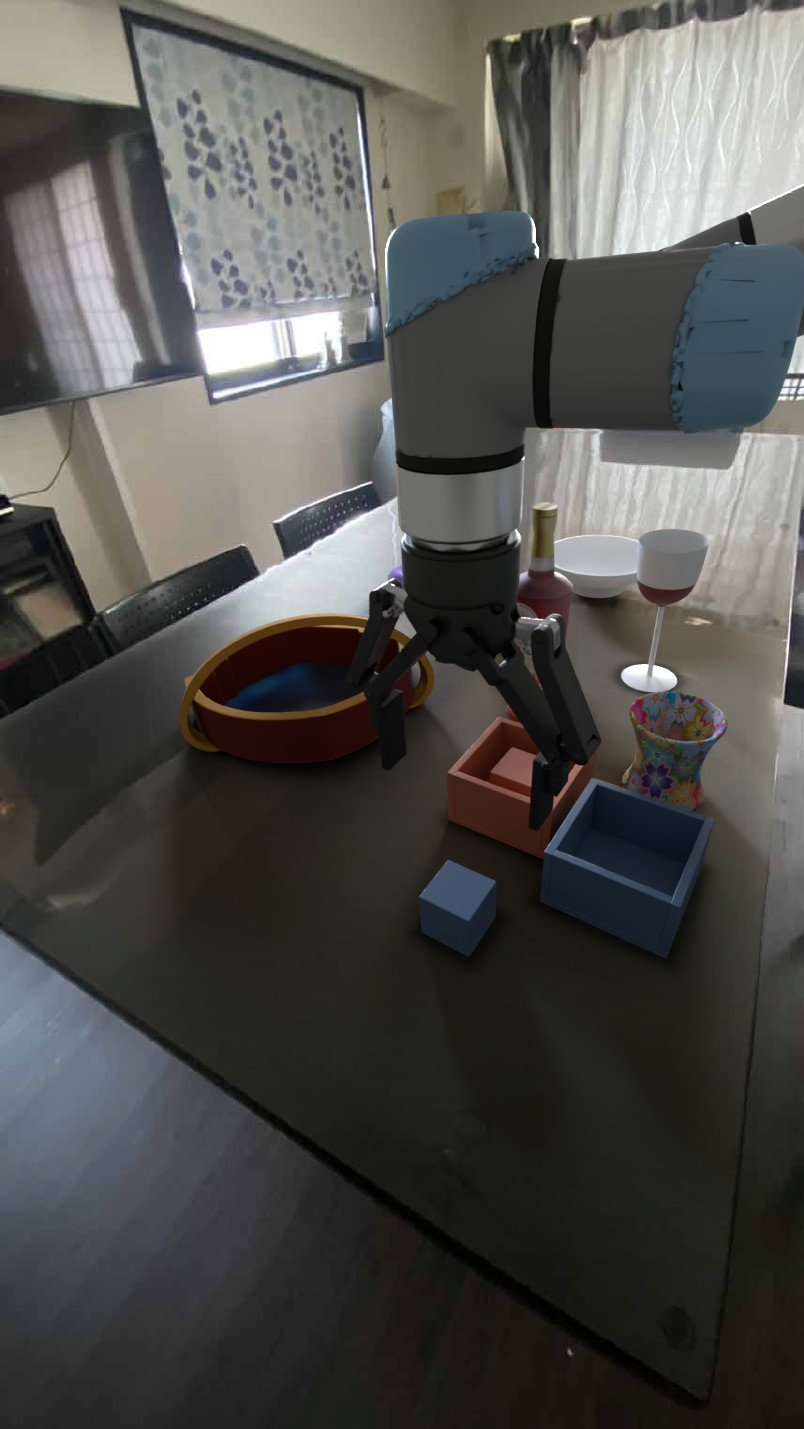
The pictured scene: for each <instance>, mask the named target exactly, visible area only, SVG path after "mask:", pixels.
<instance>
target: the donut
mask: <svg viewBox="0 0 804 1429" xmlns="http://www.w3.org/2000/svg"><path fill="white" fill-rule="evenodd" d="M393 578H395V579H397V580H399V581H400V583H401V585H402V589H404V586H403V573H402V563H401V564H398V565H396V566H395V567H393V568H392V569H391V570H390V571H389V573H388V575H387V581H389V580H390V579H393ZM404 590H405V589H404Z"/></svg>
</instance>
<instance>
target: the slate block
mask: <svg viewBox="0 0 804 1429" xmlns="http://www.w3.org/2000/svg"><path fill="white" fill-rule="evenodd" d="M418 903H419V915H420V916H419V917H420V929H421V933H422V934H424V935H426V936H428V937H430V938H431V939H433V940H435V941H437V942H439V943H441V944H443V945H444V946H447V947H449V948H451V949H452V950H454V951H455V952H458V953H460V954H461V955H463V956H465V957H468V958H470V957H471V956H472V954H473V952H474V951H475V949H476V948H477V946H479V943H480V942H481V940H482V939H483V937H484V936H485V934H486V933H487V931H488V930H489V928H490V927H491V925H492V924H493V922H494V921H495V919H496V914H497V913H496V911H497V881H496V880H495V879H491V878H490V877H488V876H485V875H483V874H480V873H479V872H476V871H475V870H472V869H469V868H467V867H465V866H463V865H461V864H458V863H456V862H454V861H452V860H450V859H448V860H446V861H445V863H444V864H443V866H441V868H440V869H439V871H438V872H437V873H436V874H435V875H434V877H433V878H432V879H431V881H429V883H428V884H427V886H426V887H425V888H424V890H423V891H422V892H421V894H419V896H418Z"/></svg>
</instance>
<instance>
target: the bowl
mask: <svg viewBox="0 0 804 1429" xmlns="http://www.w3.org/2000/svg"><path fill="white" fill-rule="evenodd" d="M638 544H639V539H638V540H637V539H635V538H631V537H625V536H618V535H612V534H611V535H609V534H585V535H576V536H570V537H566V538H563V539H559V540H556V541H554V563H555V572H557V573H560V574H562V575H563V576H564V577H566V578H567V579H568V580H569V581H570V582H571V583H572V584H573V591H572V593H574V594H577V595H579V596H582V597H585V598H586V597H587V598H592V599H593V598H594V599H605V598H613V597H615V596H618V595H619V596H620V595H621V594H622V593H624V591H625V590H626V589H627V588H628V587H630V586H633V585H638V582H637V554H638Z"/></svg>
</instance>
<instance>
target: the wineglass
mask: <svg viewBox="0 0 804 1429" xmlns="http://www.w3.org/2000/svg"><path fill="white" fill-rule="evenodd" d="M638 541H639V544H638V554H637V582H638V583H637V586H638V590H639V592H640V594H641V595H642V597H643V598H645V599H646V600H647V601H649V602H651V603H652V604H654V605H657V606H658V608H657V614H656V618H655V625H654V630H653V636H652V642H651V646H650V647H651V648H650V652H649V658H648V663H647V664H646V663H645V664H644V663H643V664H642V663H641V664H634V665H631V666H628V667H626V668H624V669H623V670H622V672H621V675H620V678H621V680H622V682H623V683H625V685H627V686H628V687H630V688H632V689H634V690H638V691H641V692H646V693H655V692H668V691H670V690H672V689H674V688H675V687H676V686H677V684H678V678H677V677H676V675H675V673H673V672H672V671H670V670H669V669H667V668H665V667H662V666H658V665H655V662H656V658H657V651H658V646H659V641H660V636H661V631H662V630H661V629H662V624H663V618H664V613H665V608H666V607H667V606H669V605H673V604H676V603H679V602H680V601H682V600H683V599H685V598H686V597H688V596H689V595H690V594H691V593H692V591H693V590H694V588H695V587H696V585H697V583H698V581H699V579H700V576H701V573H702V570H703V566H704V564H705V561H706V556H707V553H708V549H709V545H710V540H709V539H708V537H707V536H705V535H704V534H702V533H699V532H696V531H692V530H688V529H682V528H681V529H680V528H664V529H663V528H662V529H656V530H651V531H648V532H645V533H643V534H642V535H641V536H640V537H639V538H638Z"/></svg>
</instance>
